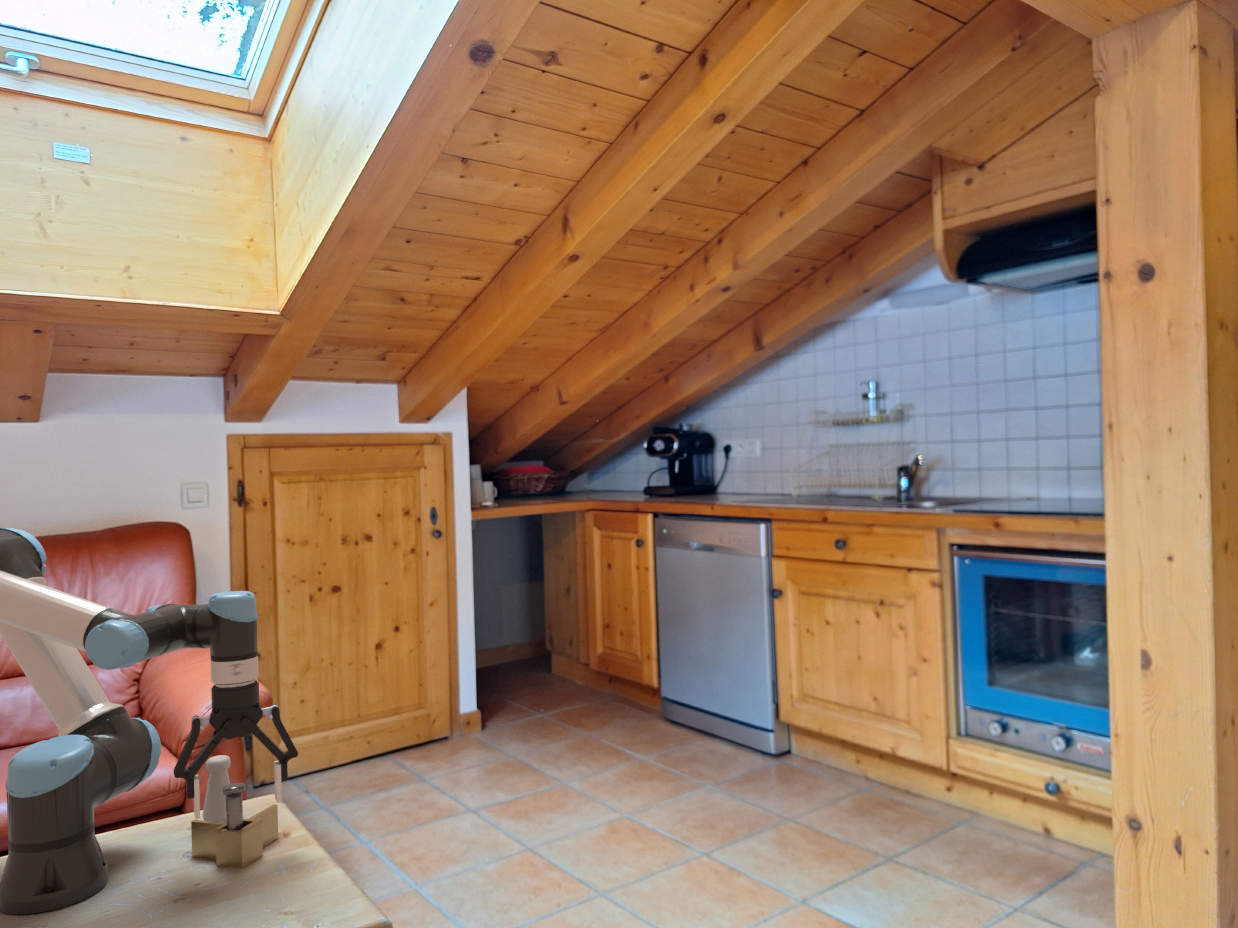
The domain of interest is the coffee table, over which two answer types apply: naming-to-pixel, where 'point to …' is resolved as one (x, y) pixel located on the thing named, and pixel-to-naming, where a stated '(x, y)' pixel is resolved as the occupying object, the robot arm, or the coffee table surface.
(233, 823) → the hinge pin
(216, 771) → the salt shaker
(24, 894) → the robot arm
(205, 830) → the hinge
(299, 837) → the coffee table surface
